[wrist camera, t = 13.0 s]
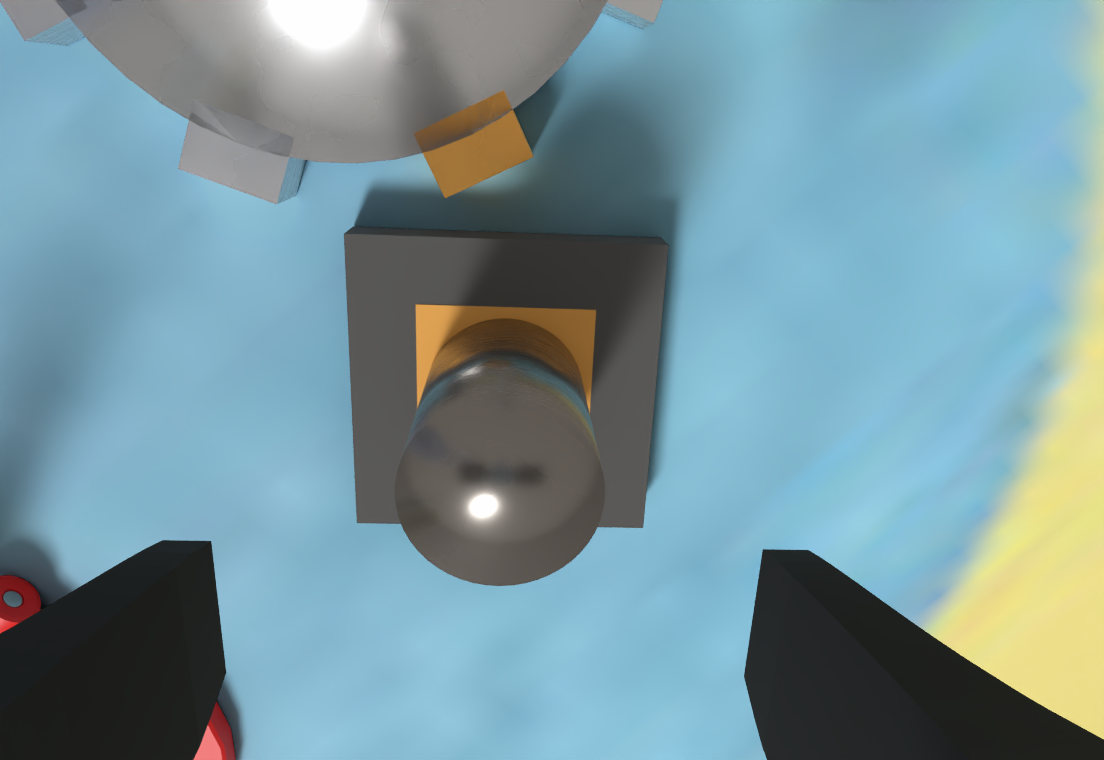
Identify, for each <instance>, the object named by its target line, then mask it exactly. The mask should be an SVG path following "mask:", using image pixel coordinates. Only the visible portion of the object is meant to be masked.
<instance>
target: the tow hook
mask: <svg viewBox="0 0 1104 760" xmlns="http://www.w3.org/2000/svg"><path fill="white" fill-rule="evenodd" d="M40 607H41V600H40V596H39V594H38V592H37V590H36V589H35V588H34V586H32V585H31V584H30V583H29V582H27V581H26V580H24V579H22V578H19V577H16V576H10V575H4V576H0V633H2V632H4V631H6V630H8V629H9V628H11V627H13V626H15V625H16V624H18V623H20V622H22V621H23V620H25V619H27V618H28V617H30V616H32V615H33V614H35V613H37V612H39V611H40ZM194 760H236V757H235V751H234V744H233V738H232V732H231V728H230V726H229V724H228V722H227V720H226V718H225V716H224V715H223V713H222V711H221V709H220V707H219V705H218V703H217V701H216V704H215V707H214V710H213V713H212V715H211V718H210V721H209V723H208V726H207V729H206V731H205V734H204V737H203V740H202V742H201V745H200V747H199V749H198V751H197V753H196V755H195V758H194Z"/></svg>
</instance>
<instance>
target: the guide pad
mask: <svg viewBox="0 0 1104 760" xmlns="http://www.w3.org/2000/svg"><path fill="white" fill-rule="evenodd" d="M344 245H345V267H346V289H347V312H348V334H349V356H350V379H351V401H352V424H353V446H354V468H355V491H356V513H357V523H386V524H401V522H400V520H399V517H398V513H397V509H396V503H395V480H396V475H397V470H398V467H399V464H400V460H401V457H402V454H403V451H404V448H405V445H406V442H407V439H408V436H409V433H410V430H411V427H412V424H413V420H414V417H415V414H416V411H417V408H418V405H419V402H420V399H421V396H422V393H423V390H424V387H425V384H426V381H427V377H428V374H429V371H430V369H431V366H432V363H433V361H434V359H435V357H436V355H437V354H438V353H439V351H440V350H441V348H442V347H443V346H444V345H445V344H446V343H447V342H448V340H449V339H451V338H452V337H453V336H454V335H456V334H457V333H458V332H460V331H462V330H463V329H465V328H467V327H469V326H471V325H473V324H476V323H479V322H482V321H486V320H491V319H503V318H508V319H518V320H522V321H527V322H530V323H533V324H536V325H538V326H540V327H542V328H544V329H546V330H547V331H549V332H550V333H552V334H553V335H555V336H556V337H557V338H558V339H559V340H560V341H561V342H563V344H564V345H565V346H566V347H567V348H568V349H569V351H570V352H571V354H572V356H573V357H574V359H575V361H576V363H577V365H578V367H579V371H580V374H581V378H582V382H583V387H584V391H585V395H586V400H587V404H588V409H589V413H590V418H591V422H592V426H593V431H594V435H595V440H596V444H597V449H598V453H599V457H600V462H601V466H602V471H603V476H604V483H605V501H604V508H603V512H602V516H601V519H600V522H599V524H598V527H623V528H643V523H644V512H645V501H646V490H647V479H648V468H649V457H650V446H651V434H652V423H653V412H654V401H655V390H656V379H657V368H658V357H659V346H660V335H661V324H662V313H663V302H664V291H665V279H666V268H667V257H668V246H669V245H668V244H667V243H666V242H665V241H664V240H663V239H662V238H657V237H629V236H601V235H573V234H545V233H517V232H489V231H461V230H433V229H405V228H377V227H352V228H351V229H350V230H348V231H347V232H346V233H344Z"/></svg>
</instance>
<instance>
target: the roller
mask: <svg viewBox="0 0 1104 760" xmlns="http://www.w3.org/2000/svg"><path fill="white" fill-rule="evenodd" d="M604 501H605V483H604V476H603V471H602V466H601V462H600V457H599V453H598V449H597V444H596V440H595V435H594V431H593V426H592V422H591V418H590V413H589V409H588V404H587V400H586V395H585V391H584V387H583V382H582V378H581V374H580V371H579V367H578V365H577V363H576V361H575V359H574V357H573V356H572V354H571V352H570V351H569V349H568V348H567V347H566V346H565V345H564V344H563V342H561V341H560V340H559V339H558V338H557V337H556V336H555V335H553V334H552V333H550V332H549V331H547V330H546V329H544V328H542V327H540V326H538V325H536V324H533V323H530V322H527V321H522V320H518V319H508V318H503V319H491V320H486V321H482V322H479V323H476V324H473V325H471V326H469V327H467V328H465V329H463V330H462V331H460V332H458V333H457V334H456V335H454V336H453V337H452V338H451V339H449V340H448V342H447V343H446V344H445V345H444V346H443V347H442V348H441V350H440V351H439V353H438V354H437V355H436V357H435V359H434V361H433V363H432V366H431V369H430V371H429V374H428V377H427V381H426V384H425V387H424V390H423V393H422V396H421V399H420V402H419V405H418V408H417V411H416V414H415V417H414V420H413V424H412V427H411V430H410V433H409V436H408V439H407V442H406V445H405V448H404V451H403V454H402V457H401V460H400V464H399V467H398V470H397V475H396V480H395V503H396V509H397V513H398V517H399V520H400V522H401V525H402V527H403V530H404V531H405V533H406V535H407V536H408V538H409V540H410V541H411V543H412V544H413V545H414V546H415V548H416V549H417V550H418V551H419V552H420V553H421V554H422V555H423V556H424V557H425V558H426V559H427V560H428V561H429V562H431V563H432V564H433V565H435V566H436V567H438V568H439V569H441V570H443V571H444V572H446V573H448V574H450V575H452V576H455V577H457V578H459V579H462V580H466V581H469V582H472V583H477V584H483V585H494V586H506V585H517V584H523V583H527V582H531V581H534V580H538V579H540V578H543V577H545V576H548V575H550V574H552V573H554V572H555V571H557V570H559V569H561V568H562V567H564V566H565V565H566V564H568V563H569V562H571V561H572V560H573V559H574V558H575V557H576V556H577V555H578V554H579V553H580V552H581V551H582V550H583V549H584V547H585V546H586V545H587V544H588V543H589V541H590V539H591V538H592V536H593V535H594V533H595V531H596V529H597V527H598V524H599V522H600V519H601V516H602V512H603V508H604Z"/></svg>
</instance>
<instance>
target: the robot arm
mask: <svg viewBox="0 0 1104 760" xmlns="http://www.w3.org/2000/svg"><path fill="white" fill-rule="evenodd" d="M225 674H226V668H225V659H224V650H223V641H222V633H221V624H220V615H219V606H218V598H217V589H216V580H215V571H214V563H213V554H212V545H211V541H169V540H163V541H161V542H158V543H156V544H154V545H152V546H150V547H148V548H146V549H144V550H142V551H141V552H139V553H137V554H135V555H133V556H132V557H130V558H128V559H126V560H125V561H123V562H121V563H120V564H118V565H116V566H114V567H113V568H111V569H109V570H108V571H106V572H104V573H103V574H101V575H99V576H98V577H96V578H94V579H93V580H91V581H89V582H88V583H86V584H84V585H83V586H81V587H79V588H77V589H76V590H74V591H72V592H71V593H69V594H67V595H66V596H64V597H62V598H61V599H59V600H57V601H55V602H54V603H52V604H50V605H49V606H47V607H45V608H44V609H42V610H40V611H39V612H37V613H35V614H33V615H32V616H30V617H28V618H27V619H25V620H23V621H22V622H20V623H18V624H16V625H15V626H13V627H11V628H9V629H8V630H6V631H4V632H2V633H0V760H194V758H195V755H196V753H197V751H198V749H199V747H200V745H201V742H202V740H203V737H204V734H205V731H206V729H207V726H208V723H209V721H210V718H211V715H212V713H213V710H214V707H215V704H216V701H217V698H218V695H219V692H220V689H221V686H222V683H223V680H224V677H225ZM744 678H745V682H746V686H747V690H748V694H749V698H750V702H751V706H752V710H753V714H754V718H755V722H756V725H757V729H758V732H759V736H760V740H761V743H762V747H763V750H764V752H765V755H766V758H767V760H1104V740H1103V739H1102V738H1100V737H1098V736H1096V735H1094V734H1092V733H1091V732H1089V731H1087V730H1085V729H1083V728H1081V727H1080V726H1078V725H1076V724H1074V723H1072V722H1070V721H1069V720H1067V719H1065V718H1063V717H1061V716H1059V715H1058V714H1056V713H1054V712H1052V711H1050V710H1048V709H1047V708H1045V707H1043V706H1042V705H1040V704H1038V703H1037V702H1035V701H1033V700H1031V699H1030V698H1028V697H1026V696H1025V695H1023V694H1021V693H1020V692H1018V691H1016V690H1015V689H1013V688H1011V687H1010V686H1008V685H1007V684H1005V683H1004V682H1002V681H1000V680H999V679H997V678H996V677H994V676H992V675H991V674H989V673H988V672H986V671H984V670H983V669H981V668H980V667H978V666H977V665H975V664H973V663H972V662H970V661H969V660H967V659H966V658H964V657H963V656H961V655H960V654H958V653H957V652H955V651H954V650H952V649H951V648H949V647H948V646H946V645H945V644H943V643H942V642H940V641H939V640H937V639H936V638H934V637H933V636H931V635H930V634H928V633H927V632H925V631H924V630H923V629H921V628H920V627H918V626H917V625H915V624H914V623H913V622H911V621H910V620H908V619H907V618H905V617H904V616H903V615H901V614H900V613H898V612H897V611H896V610H894V609H893V608H891V607H890V606H889V605H887V604H886V603H884V602H883V601H882V600H880V599H879V598H877V597H876V596H875V595H873V594H872V593H870V592H869V591H868V590H866V589H865V588H863V587H862V586H861V585H859V584H858V583H857V582H855V581H854V580H852V579H851V578H850V577H848V576H847V575H845V574H844V573H842V572H841V571H840V570H838V569H837V568H835V567H834V566H832V565H831V564H829V563H828V562H826V561H825V560H823V559H822V558H820V557H819V556H817V555H815V554H814V553H812V552H810V551H809V550H764V549H763V552H762V559H761V566H760V573H759V579H758V586H757V593H756V600H755V606H754V613H753V620H752V626H751V633H750V640H749V647H748V653H747V660H746V667H745V674H744Z"/></svg>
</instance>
